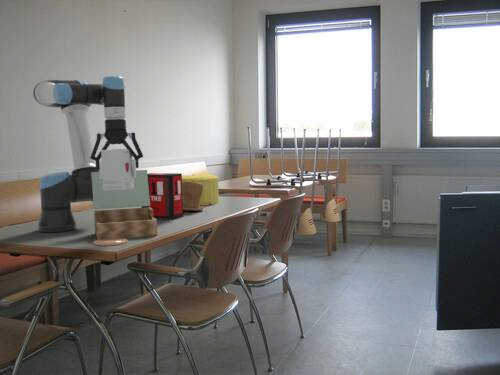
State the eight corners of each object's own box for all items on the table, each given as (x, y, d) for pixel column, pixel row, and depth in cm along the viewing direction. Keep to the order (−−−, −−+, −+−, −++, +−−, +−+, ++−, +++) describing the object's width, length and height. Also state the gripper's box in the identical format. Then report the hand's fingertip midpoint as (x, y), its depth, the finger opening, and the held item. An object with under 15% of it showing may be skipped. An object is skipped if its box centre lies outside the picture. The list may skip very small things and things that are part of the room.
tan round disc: (94, 247, 203) (94, 245, 202) (92, 241, 214) (92, 239, 214) (129, 244, 206) (129, 242, 206) (125, 238, 218) (125, 236, 218)
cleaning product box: (183, 216, 270) (181, 173, 268) (173, 219, 261) (172, 175, 259) (151, 215, 276) (150, 173, 274) (141, 218, 267) (140, 174, 265)
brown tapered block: (208, 209, 291) (207, 179, 290) (197, 213, 280) (196, 182, 279) (181, 208, 297) (180, 179, 295) (169, 212, 286) (168, 181, 284)
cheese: (178, 200, 335) (177, 174, 333) (222, 200, 331) (222, 173, 330) (165, 206, 309) (164, 178, 308) (213, 206, 305) (212, 177, 304)
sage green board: (91, 172, 232) (91, 172, 233) (93, 209, 229) (93, 209, 229) (146, 169, 239) (146, 170, 240) (150, 205, 236) (150, 205, 236)
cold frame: (97, 240, 215) (96, 215, 215) (95, 233, 230) (94, 210, 229) (157, 235, 222) (156, 212, 221) (151, 229, 237) (150, 207, 236)
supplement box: (125, 190, 212) (123, 149, 211) (102, 190, 214) (100, 149, 213) (134, 188, 221) (132, 148, 220) (112, 188, 223) (110, 149, 222)
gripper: (82, 119, 208) (85, 180, 210) (149, 118, 216) (151, 176, 218) (80, 119, 215) (83, 178, 217) (145, 118, 223) (148, 175, 225)
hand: (118, 177), depth 217 cm, fingers closed on supplement box, 12 cm apart
